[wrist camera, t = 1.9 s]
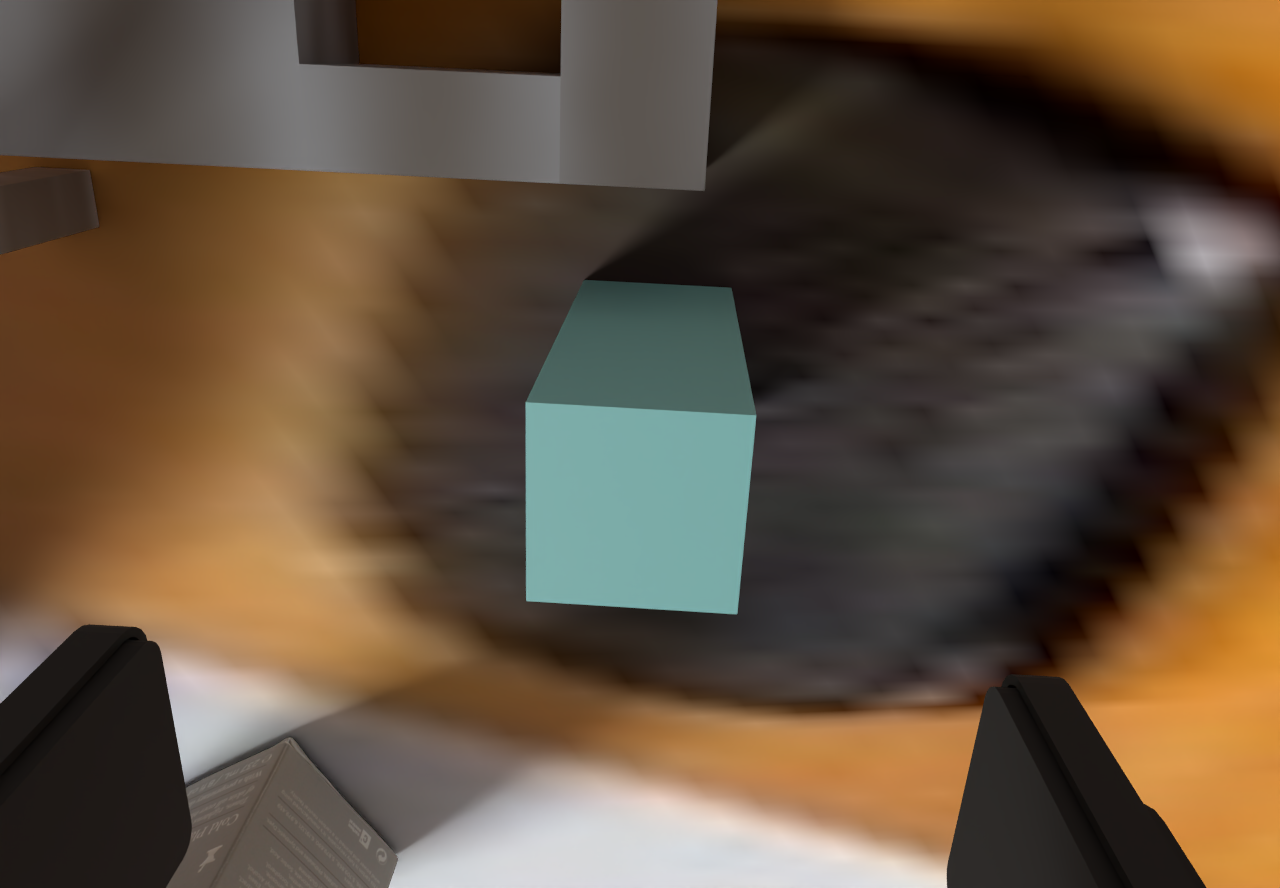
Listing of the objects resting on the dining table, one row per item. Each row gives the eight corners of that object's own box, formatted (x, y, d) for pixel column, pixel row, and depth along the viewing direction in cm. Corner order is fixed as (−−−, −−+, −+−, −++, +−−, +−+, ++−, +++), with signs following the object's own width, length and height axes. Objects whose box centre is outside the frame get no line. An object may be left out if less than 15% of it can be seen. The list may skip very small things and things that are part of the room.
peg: (731, 287, 26) (755, 415, 16) (719, 425, 27) (737, 614, 18) (584, 279, 26) (526, 402, 16) (581, 417, 27) (526, 601, 18)
